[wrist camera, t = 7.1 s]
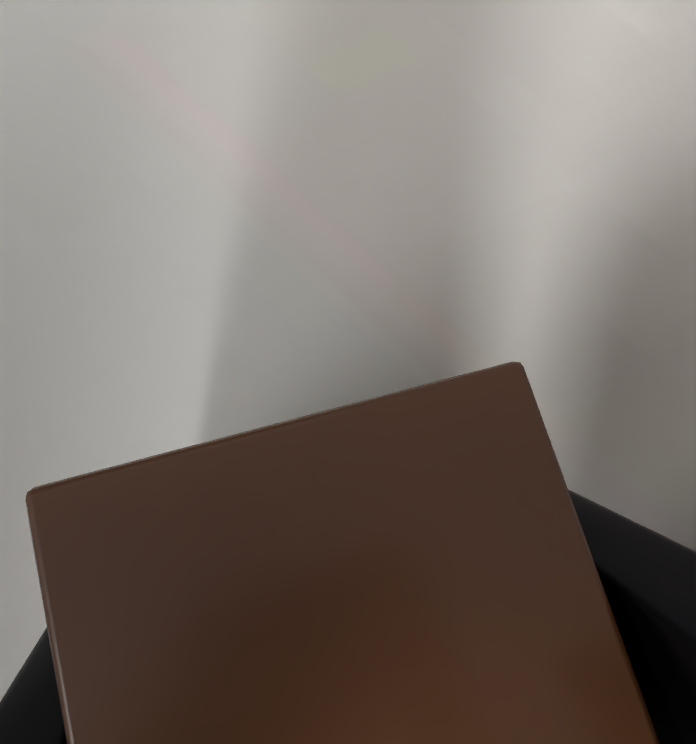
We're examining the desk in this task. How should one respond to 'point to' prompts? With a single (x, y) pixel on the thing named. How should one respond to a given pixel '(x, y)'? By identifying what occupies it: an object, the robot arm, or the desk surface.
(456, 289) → the desk surface
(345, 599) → the walnut block
